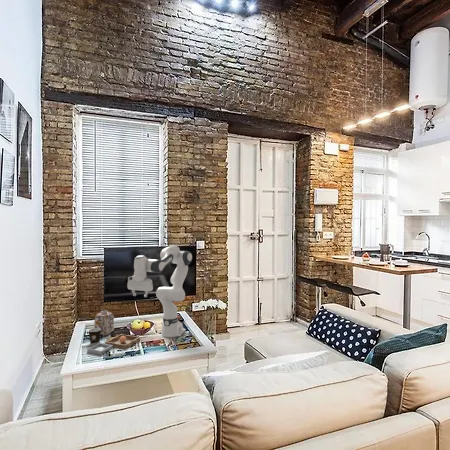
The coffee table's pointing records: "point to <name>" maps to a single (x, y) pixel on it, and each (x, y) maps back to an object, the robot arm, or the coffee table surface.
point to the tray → (98, 352)
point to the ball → (122, 339)
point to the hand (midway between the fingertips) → (140, 296)
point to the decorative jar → (104, 322)
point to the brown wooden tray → (129, 341)
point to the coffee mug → (94, 335)
